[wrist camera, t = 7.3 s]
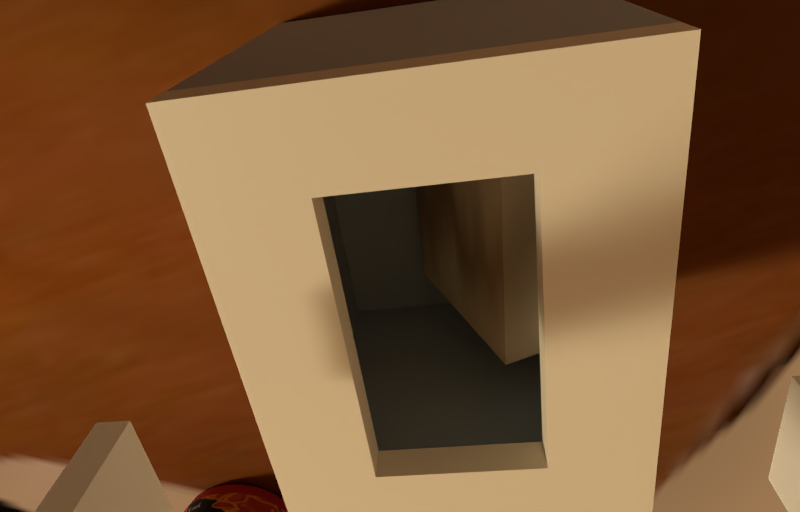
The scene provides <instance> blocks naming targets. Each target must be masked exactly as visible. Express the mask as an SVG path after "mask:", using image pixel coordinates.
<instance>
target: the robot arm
mask: <svg viewBox="0 0 800 512" xmlns="http://www.w3.org/2000/svg"><path fill="white" fill-rule="evenodd" d="M768 479H769V481H770V482H771V484H772V486H773V487H774V489H775V491H776V492H777V494H778V495H779V497H780V499H781V501H782V502H783V504H784V505H785V507H786V509H787V511H788V512H800V376H792V379H791V383H790V387H789V392H788V396H787V400H786V405H785V409H784V413H783V418H782V422H781V426H780V430H779V434H778V439H777V443H776V447H775V452H774V456H773V460H772V465H771V469H770V473H769V477H768ZM171 508H172V506H171V504H170V502H169V500H168V498H167V496H166V494H165V492H164V490H163V488H162V485H161V483H160V481H159V479H158V477H157V475H156V473H155V471H154V469H153V467H152V465H151V463H150V461H149V459H148V457H147V455H146V453H145V451H144V449H143V447H142V444H141V442H140V440H139V438H138V436H137V434H136V432H135V430H134V428H133V426H132V424H131V422H130V421H118V422H103V423H96V424H95V425H94V427H93V428H92V430H91V431H90V433H89V434H88V436H87V437H86V438H85V440H84V441H83V443H82V444H81V446H80V447H79V449H78V450H77V451H76V453H75V454H74V456H73V457H72V459H71V460H70V462H69V463H68V464H67V466H66V467H65V469H64V470H63V472H62V473H61V475H60V476H59V477H58V479H57V480H56V482H55V483H54V485H53V486H52V488H51V489H50V491H49V492H48V493H47V495H46V496H45V498H44V499H43V501H42V502H41V504H40V505H39V506H38V508H37V509H36V511H35V512H170V511H171Z"/></svg>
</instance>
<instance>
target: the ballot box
mask: <svg viewBox="0 0 800 512" xmlns="http://www.w3.org/2000/svg"><path fill="white" fill-rule="evenodd" d="M700 35H701V29H699V28H697V27H694V26H691V25H688V24H686V23H683V22H680V21H678V20H675V19H672V18H670V17H667V16H664V15H662V14H659V13H656V12H654V11H651V10H648V9H646V8H643V7H640V6H638V5H635V4H632V3H630V2H627V1H624V0H435V1H429V2H422V3H415V4H408V5H401V6H394V7H387V8H381V9H374V10H367V11H360V12H353V13H346V14H339V15H333V16H326V17H319V18H312V19H305V20H298V21H291V22H285V23H280V24H278V25H276V26H275V27H273V28H271V29H270V30H268V31H266V32H265V33H263V34H261V35H260V36H258V37H256V38H255V39H253V40H251V41H249V42H248V43H246V44H244V45H243V46H241V47H239V48H238V49H236V50H234V51H233V52H231V53H229V54H228V55H226V56H224V57H223V58H221V59H219V60H218V61H216V62H214V63H212V64H211V65H209V66H207V67H206V68H204V69H202V70H201V71H199V72H197V73H196V74H194V75H192V76H191V77H189V78H187V79H186V80H184V81H182V82H181V83H179V84H177V85H175V86H174V87H172V88H170V89H169V90H167V91H165V92H164V93H162V94H160V95H159V96H157V97H155V98H154V99H152V100H150V101H149V102H147V103H146V106H147V108H148V111H149V114H150V117H151V120H152V123H153V126H154V128H155V131H156V134H157V137H158V140H159V143H160V146H161V149H162V151H163V154H164V157H165V160H166V163H167V166H168V169H169V172H170V174H171V177H172V180H173V183H174V186H175V189H176V192H177V195H178V197H179V200H180V203H181V206H182V209H183V212H184V215H185V218H186V220H187V223H188V226H189V229H190V232H191V235H192V238H193V241H194V243H195V246H196V249H197V252H198V255H199V258H200V261H201V264H202V266H203V269H204V272H205V275H206V278H207V281H208V284H209V287H210V289H211V292H212V295H213V298H214V301H215V304H216V307H217V309H218V312H219V315H220V318H221V321H222V324H223V327H224V330H225V332H226V335H227V338H228V341H229V344H230V347H231V350H232V353H233V355H234V358H235V361H236V364H237V367H238V370H239V373H240V376H241V378H242V381H243V384H244V387H245V390H246V393H247V396H248V399H249V401H250V404H251V407H252V410H253V413H254V416H255V419H256V422H257V424H258V427H259V430H260V433H261V436H262V439H263V442H264V445H265V447H266V450H267V453H268V456H269V459H270V462H271V465H272V468H273V470H274V473H275V476H276V479H277V482H278V485H279V488H280V490H281V493H282V496H283V499H284V502H285V505H286V508H287V511H288V512H652V511H653V501H654V491H655V481H656V471H657V461H658V451H659V441H660V431H661V421H662V412H663V402H664V392H665V382H666V372H667V362H668V352H669V342H670V332H671V322H672V313H673V303H674V293H675V283H676V273H677V263H678V253H679V243H680V233H681V223H682V214H683V204H684V194H685V184H686V174H687V164H688V154H689V144H690V134H691V124H692V115H693V105H694V95H695V85H696V75H697V65H698V55H699V45H700ZM527 174H534V186H535V218H536V250H537V281H538V313H539V345H540V353H538V354H536V355H533V356H530V357H527V358H524V359H521V360H518V361H516V362H513V363H510V364H507V365H505V364H504V362H503V361H502V360H501V359H500V358H499V357H498V356H497V355H496V353H495V352H494V351H493V350H492V349H491V348H490V347H489V346H488V344H487V343H486V342H485V341H484V340H483V339H482V338H481V337H480V335H479V334H478V333H477V332H476V331H475V330H474V329H473V328H472V326H471V325H470V324H469V323H468V322H467V321H466V320H465V319H464V317H463V316H462V315H461V314H460V313H459V312H458V311H457V309H456V308H455V307H454V306H453V305H452V304H451V303H450V302H449V300H448V299H447V298H446V297H445V296H444V295H443V294H442V293H441V291H440V290H439V289H438V288H437V287H436V286H435V285H434V284H433V282H432V281H431V280H430V279H429V278H428V277H427V276H426V275H425V273H424V263H423V253H422V243H421V233H420V223H419V213H418V203H417V193H416V187H418V186H427V185H436V184H445V183H454V182H463V181H472V180H482V179H491V178H500V177H509V176H518V175H527Z"/></svg>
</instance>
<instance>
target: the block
mask: <svg viewBox="0 0 800 512" xmlns="http://www.w3.org/2000/svg"><path fill="white" fill-rule="evenodd" d="M416 193H417V203H418V213H419V223H420V233H421V243H422V253H423V263H424V273H425V275H426V276H427V277H428V278H429V279H430V280H431V281H432V282H433V284H434V285H435V286H436V287H437V288H438V289H439V290H440V291H441V293H442V294H443V295H444V296H445V297H446V298H447V299H448V300H449V302H450V303H451V304H452V305H453V306H454V307H455V308H456V309H457V311H458V312H459V313H460V314H461V315H462V316H463V317H464V319H465V320H466V321H467V322H468V323H469V324H470V325H471V326H472V328H473V329H474V330H475V331H476V332H477V333H478V334H479V335H480V337H481V338H482V339H483V340H484V341H485V342H486V343H487V344H488V346H489V347H490V348H491V349H492V350H493V351H494V352H495V353H496V355H497V356H498V357H499V358H500V359H501V360H502V361H503V362H504V364H505V365H507V364H510V363H513V362H516V361H518V360H521V359H524V358H527V357H530V356H533V355H536V354H538V353H540V345H539V313H538V281H537V250H536V218H535V186H534V174H527V175H518V176H509V177H500V178H491V179H482V180H472V181H463V182H454V183H445V184H436V185H427V186H418V187H416Z"/></svg>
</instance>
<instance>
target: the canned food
mask: <svg viewBox="0 0 800 512" xmlns="http://www.w3.org/2000/svg"><path fill="white" fill-rule="evenodd" d="M184 512H288V511H287V508H286V505H285V502H284V500H282V499H281V498H280V497H278V496H277V495H275V494H273V493H271V492H269V491H267V490H264V489H261V488H258V487H254V486H249V485H241V484H230V485H221V486H217V487H213V488H210V489H208V490H206V491H204V492H202V493H201V494H199V495H198V496H197V497H196V498H195V499H194V500H193V501H192V503H191V504H190V505H189V506H188V508H187V509H186V510H185V511H184Z"/></svg>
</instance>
